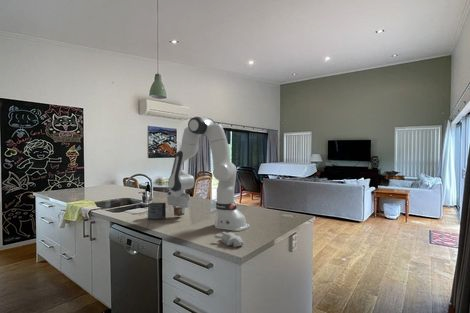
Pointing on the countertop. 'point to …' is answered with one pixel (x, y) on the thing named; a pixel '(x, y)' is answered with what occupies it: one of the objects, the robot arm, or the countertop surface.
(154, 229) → the countertop surface
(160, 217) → the small box
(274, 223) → the countertop surface
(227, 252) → the countertop surface
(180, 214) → the walnut cube
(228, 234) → the bunny figurine
